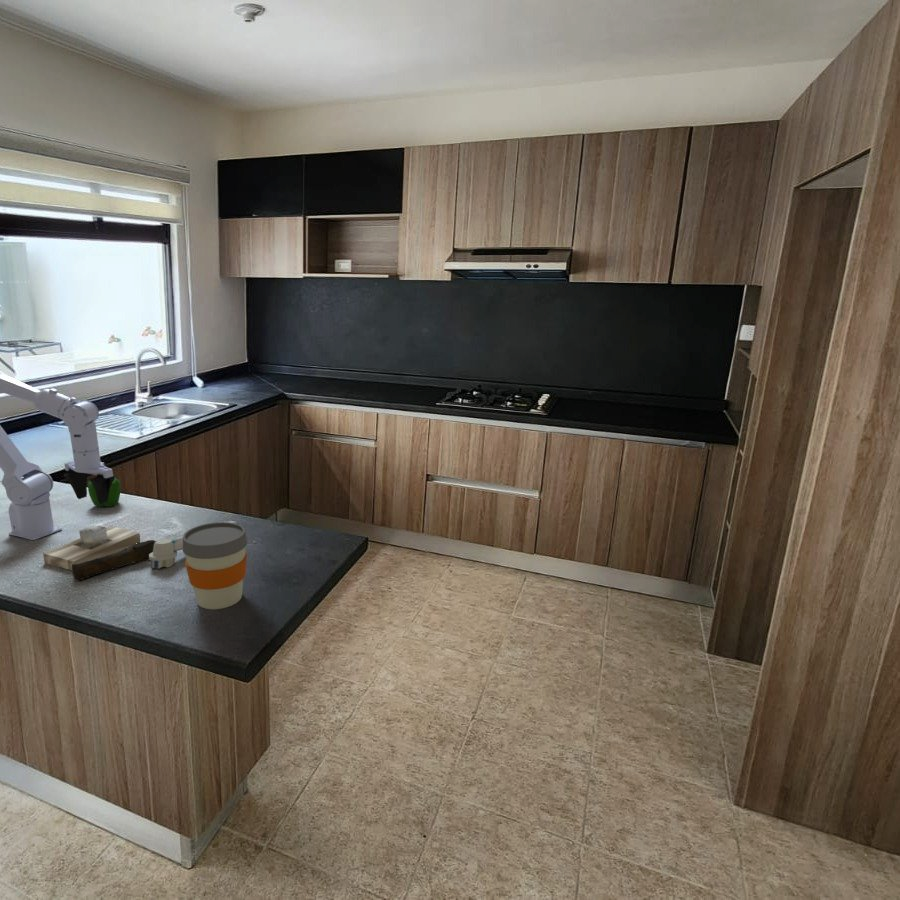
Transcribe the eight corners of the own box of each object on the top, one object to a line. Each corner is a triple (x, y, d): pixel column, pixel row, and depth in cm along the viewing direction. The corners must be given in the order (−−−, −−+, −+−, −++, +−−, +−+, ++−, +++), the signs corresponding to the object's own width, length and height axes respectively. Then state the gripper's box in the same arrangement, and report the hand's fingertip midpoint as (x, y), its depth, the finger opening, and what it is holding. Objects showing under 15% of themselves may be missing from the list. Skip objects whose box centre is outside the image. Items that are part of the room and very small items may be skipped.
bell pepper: (87, 503, 177) (82, 471, 174) (118, 497, 182) (114, 466, 179) (94, 512, 171) (89, 479, 168) (125, 505, 176) (121, 473, 173)
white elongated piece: (242, 521, 158) (159, 542, 136) (241, 545, 159) (158, 570, 137) (228, 517, 160) (144, 537, 138) (227, 541, 161) (143, 565, 139)
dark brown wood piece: (77, 584, 131) (74, 565, 130) (72, 578, 134) (69, 559, 132) (165, 559, 144) (164, 541, 143) (159, 553, 147) (157, 536, 146)
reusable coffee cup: (231, 578, 135) (226, 517, 131) (262, 597, 128) (258, 533, 124) (176, 598, 126) (169, 533, 122) (206, 621, 118) (200, 551, 114)
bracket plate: (44, 563, 140) (43, 553, 139) (111, 534, 156) (110, 526, 155) (75, 571, 136) (73, 561, 136) (140, 541, 152) (139, 532, 152)
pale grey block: (82, 553, 145) (79, 530, 144) (97, 547, 149) (94, 524, 147) (94, 556, 144) (91, 533, 142) (109, 549, 147) (106, 527, 146)
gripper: (120, 449, 151) (126, 499, 155) (79, 442, 156) (86, 491, 160) (95, 456, 145) (102, 508, 149) (53, 448, 150) (61, 499, 154)
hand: (92, 500), depth 154 cm, fingers open, 7 cm apart
